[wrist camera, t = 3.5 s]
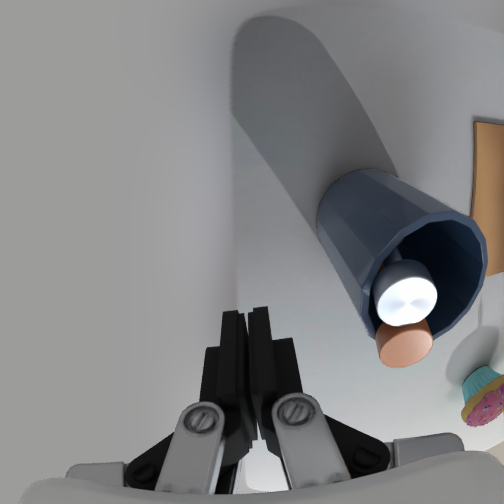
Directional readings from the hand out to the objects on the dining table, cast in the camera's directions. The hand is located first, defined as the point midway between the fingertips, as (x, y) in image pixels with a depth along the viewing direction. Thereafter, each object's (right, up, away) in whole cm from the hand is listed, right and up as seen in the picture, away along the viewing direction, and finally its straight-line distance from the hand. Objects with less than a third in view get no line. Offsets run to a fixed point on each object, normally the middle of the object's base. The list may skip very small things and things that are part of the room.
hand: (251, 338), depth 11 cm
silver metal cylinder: (+8, +7, +7) cm, 13 cm away
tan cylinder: (+8, +4, +9) cm, 13 cm away
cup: (+8, +6, +9) cm, 13 cm away
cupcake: (+30, -14, +19) cm, 38 cm away
